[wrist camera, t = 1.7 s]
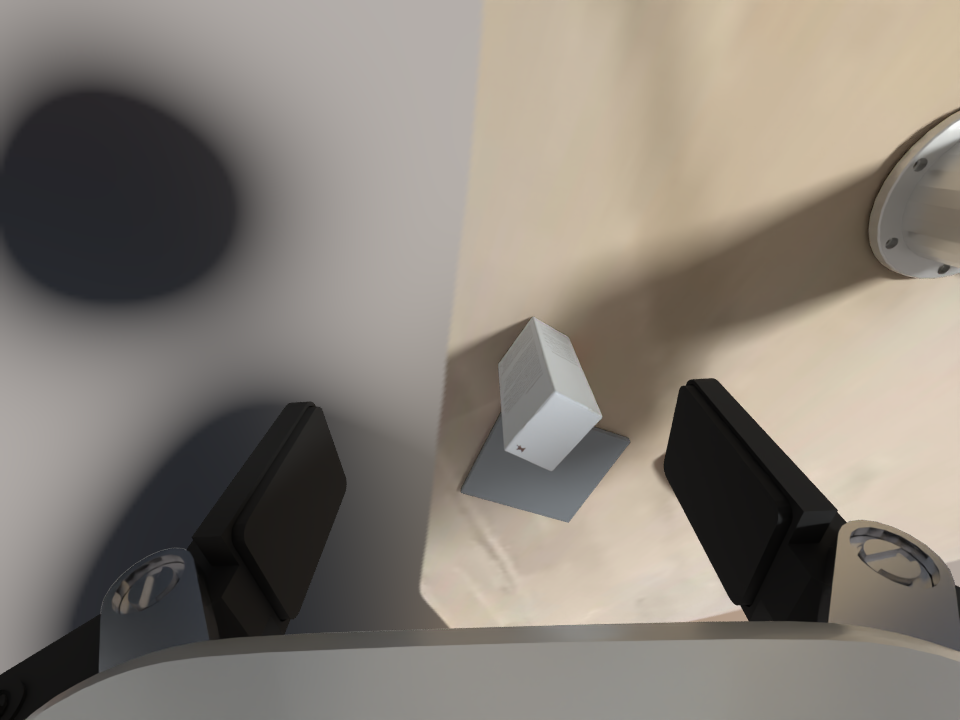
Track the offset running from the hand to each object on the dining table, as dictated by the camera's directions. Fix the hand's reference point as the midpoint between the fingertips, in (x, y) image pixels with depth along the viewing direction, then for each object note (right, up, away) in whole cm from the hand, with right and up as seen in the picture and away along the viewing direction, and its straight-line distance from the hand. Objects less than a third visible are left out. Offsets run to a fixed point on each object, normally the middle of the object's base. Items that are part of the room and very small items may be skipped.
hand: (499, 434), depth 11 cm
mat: (+6, -10, +34) cm, 36 cm away
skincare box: (+4, +3, +27) cm, 27 cm away
